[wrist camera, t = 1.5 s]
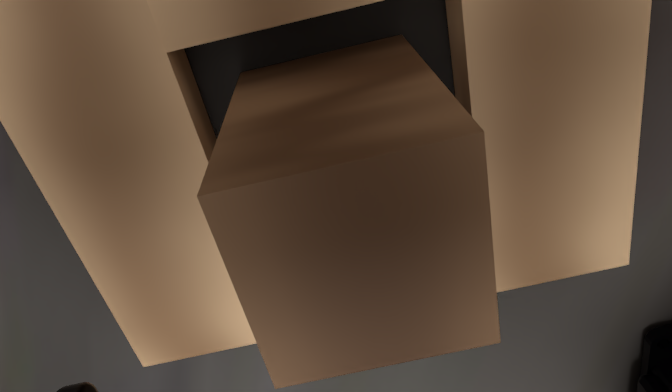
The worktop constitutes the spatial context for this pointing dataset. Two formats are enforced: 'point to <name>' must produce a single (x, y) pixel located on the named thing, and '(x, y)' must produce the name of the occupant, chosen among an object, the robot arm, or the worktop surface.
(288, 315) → the walnut block
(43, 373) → the worktop surface
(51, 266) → the worktop surface
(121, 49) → the pocket board
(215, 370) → the worktop surface
